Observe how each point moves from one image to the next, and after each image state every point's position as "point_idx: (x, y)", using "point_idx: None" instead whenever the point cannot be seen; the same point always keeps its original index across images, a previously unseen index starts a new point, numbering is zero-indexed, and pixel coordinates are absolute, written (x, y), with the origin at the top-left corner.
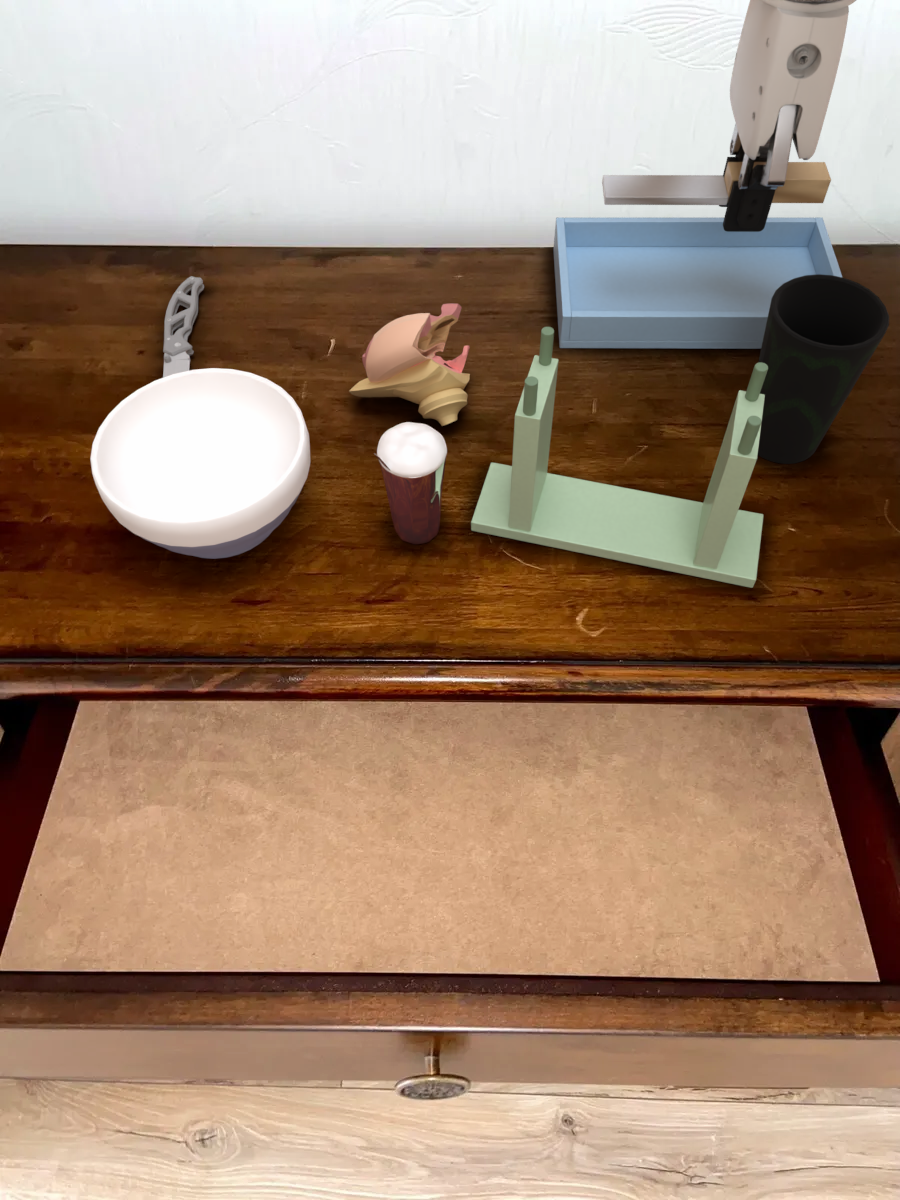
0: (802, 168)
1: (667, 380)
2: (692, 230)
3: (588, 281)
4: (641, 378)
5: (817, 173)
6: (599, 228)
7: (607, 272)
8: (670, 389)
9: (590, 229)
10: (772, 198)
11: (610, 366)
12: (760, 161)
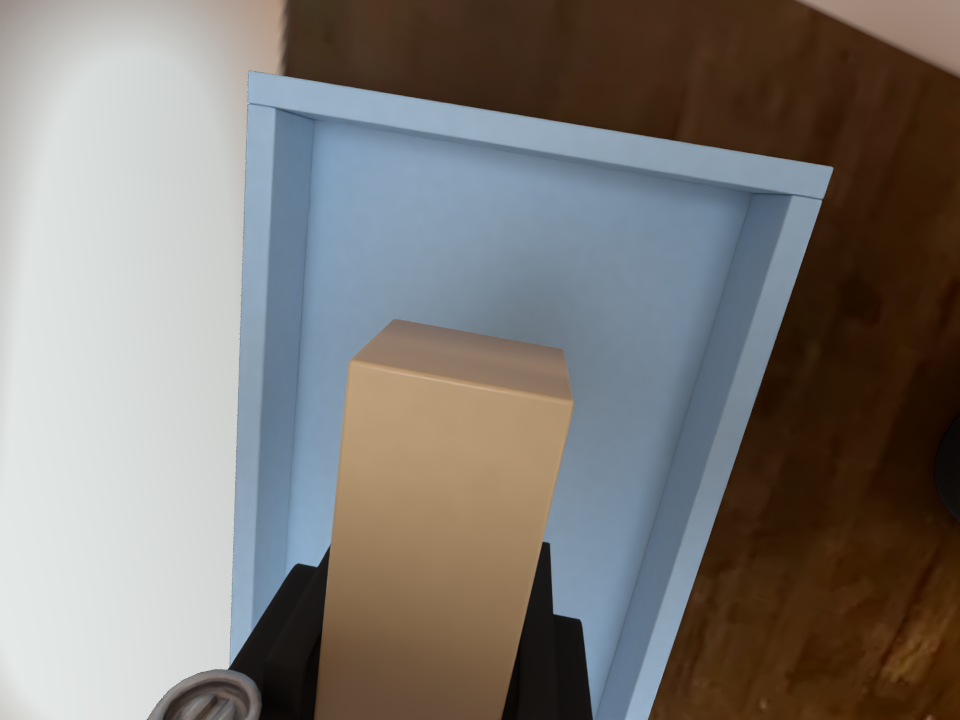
0: (412, 534)
1: (746, 624)
2: (269, 484)
3: None
4: (723, 668)
5: (484, 466)
6: None
7: None
8: (777, 627)
9: None
10: (554, 654)
11: (667, 709)
12: (301, 705)
